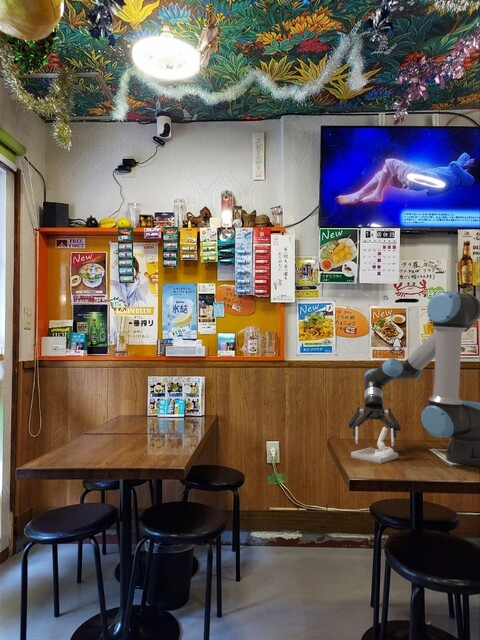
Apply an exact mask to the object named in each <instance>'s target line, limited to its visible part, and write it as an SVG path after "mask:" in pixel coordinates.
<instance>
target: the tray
mask: <svg viewBox="0 0 480 640" xmlns="http://www.w3.org/2000/svg"><path fill="white" fill-rule="evenodd" d="M377 449H378V448H373V447H367V448H363V449H359V450H354V451H351V452H350V457H351V458H352V459H356V460H362V461H365V462H369V463H374V464H380V465H382V464H383V463H384V464H385V463H388V462H391V461H394V460H397V459H399V453H398V452H395V451H394V453H392V454H390V455H387V456H381V457H377V456H375V450H377Z"/></svg>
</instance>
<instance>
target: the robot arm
mask: <svg viewBox="0 0 480 640" xmlns="http://www.w3.org/2000/svg"><path fill="white" fill-rule="evenodd" d="M426 313H427V316H428V317H429V318H430V320H431V321H432V329H433V330H435V331H433V333H432V334H430V336H428V337H427V339H425V340H424V341H423V342H422V343H421V345H419V346H418V347H417V348H416V349H415V350H414V351H413V353H412V354H411V355H409V356H408V357H407V359H406V360H404V361H403V362H402V361H400V360H399V359H397V358H395V357H392V358H389V359H388V360H386V361H384V362H383V363H382V364H381V365H380V366H379V367H377V368H371V369H367V371H365V374H364V380H363V381H364V408H361V407H359V406H358V407H356V411H355V413H354V414H353V416H352V417H351V419H350V420H349V422H348V428H349V429H352V436H353V437H354V436H355V441H354V442H355V445H358V443H359V442H358V439H359V437H358V436H359V427H361V425H363V424H364V423H365V422H366V421H368V420H375V421H378V420H380V422H382V423H384V424H385V426H387V427H388V429H390V440H391V443H390V444H391V445H390V446H391V447H394V443H395V441H394V440H395V439H396V438H397V431H398V432H401V424H400V422H399V421H398V419H396V417H395V416H394V414H393V413H392V409H391V408H389V407H388V409H384V398H383V397H384V396H383V394H384V393H383V388H384V387H385V386H386V385H388V384H389V383H390V382H392V381H398V380H399V381H400V380H401V381H402V380H403V381H404V380H415V379H418V378H420V377H421V376H422V373H423V369H424V368H425V367H427V366H428V365H429V364H430V363H431V362H432V361H433V360H434V374H433V390H432V393H433V394H432V395H431V396H430V397H428V402H427V403H428V405H427V406H426V407H425V408H424V409H423V410H422V411H421V415H420V418H421V423H422V426H423V428H424V429H425V430H426V432H427V433H428V434H429V435H431V436H433V437H435V438H440V439H441V438H449V437H450V439H449V442H448V446H447V448H446V451H445V459H446V460H447V461H448V462H451V463H455V464H459V465H460V464H461V465H467V466H480V402H477V401H468V400H461V399H460V398H459V395H460V394H459V392H460V389H459V388H460V376H461V375H460V374H461V372H460V371H461V355H462V353H461V352H462V340H463V339H462V338H463V337H462V336H463V333H467V331H469V330H470V329H471V328H472V327H473V326H474V325H475V324H476V323H477V322H478V320H479V319H480V300H479V299H478V298H477V296H475V295H473V294H471V293H466V292H465V293H463V292H457V291H450V290H448V291H439V292H438V293H436V294H434V295H433V296H432V297H431V298H430V299H429V301H428V303H427V306H426ZM362 413H363V415H362ZM361 415H362V416H361ZM385 415H386V416H387V417H388V418H389V419H388V418H387V417H386V416H385ZM359 417H360V418H359Z"/></svg>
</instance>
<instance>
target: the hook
mask: <svg viewBox="0 0 480 640" xmlns="http://www.w3.org/2000/svg"><path fill="white" fill-rule="evenodd" d="M388 429H389V428H387V427H385V426H383V427H382V429H381V431H380V435H379V437H378V440H377V443H376V446H377V448H376V449H377V450H375V456H377V457H381V456H387V455H390V454H392V453H394V452H395V450H394V448H392V446H386V445H385V442H384V440H385V438H386V436H387V432H388Z"/></svg>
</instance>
